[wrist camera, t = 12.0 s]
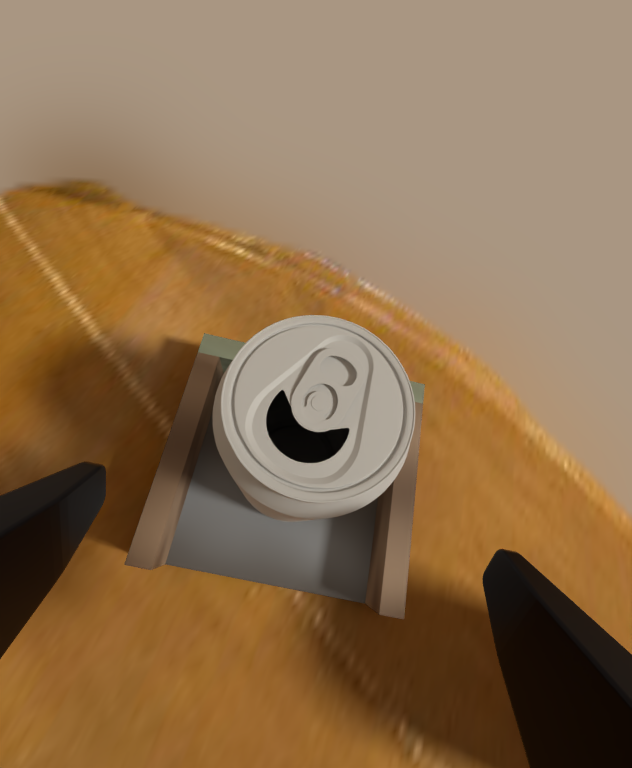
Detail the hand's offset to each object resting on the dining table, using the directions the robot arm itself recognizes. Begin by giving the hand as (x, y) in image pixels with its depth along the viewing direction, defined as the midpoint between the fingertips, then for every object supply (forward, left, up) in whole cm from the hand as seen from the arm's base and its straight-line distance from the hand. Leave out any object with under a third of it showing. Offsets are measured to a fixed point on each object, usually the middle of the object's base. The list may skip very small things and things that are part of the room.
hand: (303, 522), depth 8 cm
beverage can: (+3, 0, -13) cm, 14 cm away
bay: (+3, 0, -13) cm, 14 cm away
